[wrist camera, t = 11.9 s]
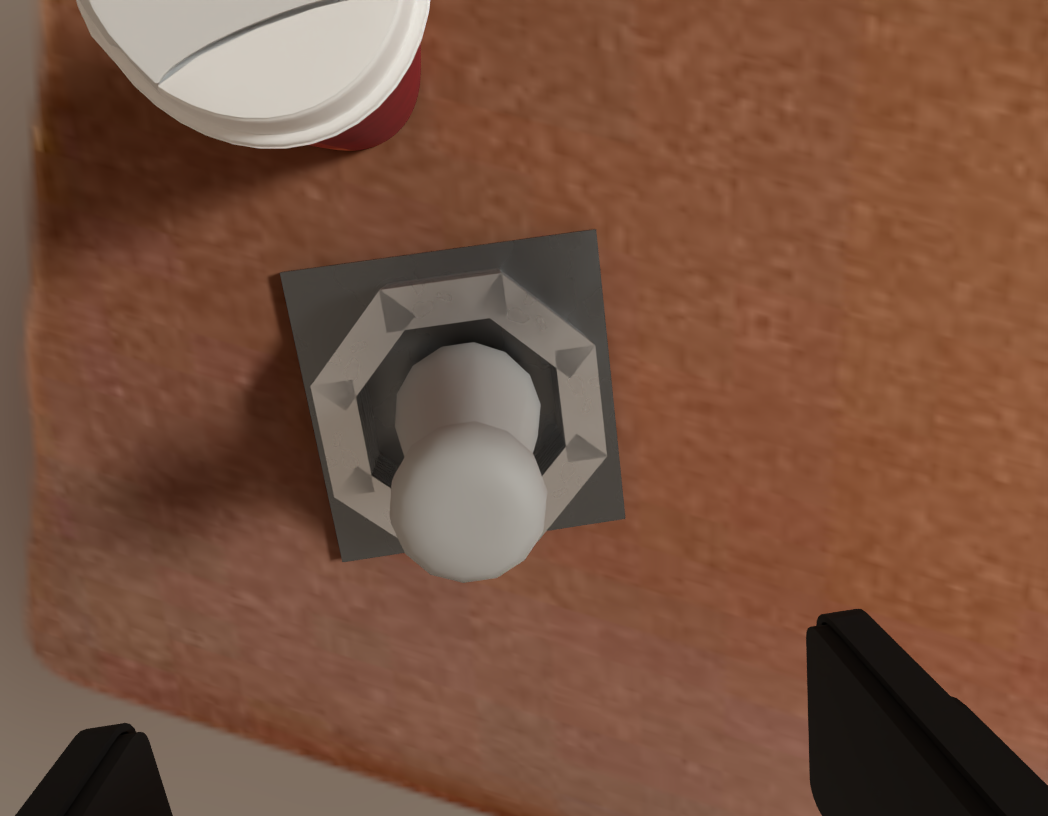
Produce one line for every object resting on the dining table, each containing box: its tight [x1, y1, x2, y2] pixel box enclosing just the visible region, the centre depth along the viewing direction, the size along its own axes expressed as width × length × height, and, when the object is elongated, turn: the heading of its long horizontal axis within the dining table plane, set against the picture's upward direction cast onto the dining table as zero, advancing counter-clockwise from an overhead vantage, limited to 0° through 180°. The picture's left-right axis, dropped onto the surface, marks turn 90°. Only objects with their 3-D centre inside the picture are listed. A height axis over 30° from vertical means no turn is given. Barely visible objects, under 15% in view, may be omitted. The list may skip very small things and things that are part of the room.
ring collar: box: [280, 229, 625, 562], centre depth 30 cm, size 13×13×4 cm
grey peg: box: [390, 342, 547, 583], centre depth 25 cm, size 6×6×13 cm
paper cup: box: [76, 0, 430, 151], centre depth 21 cm, size 8×8×14 cm
